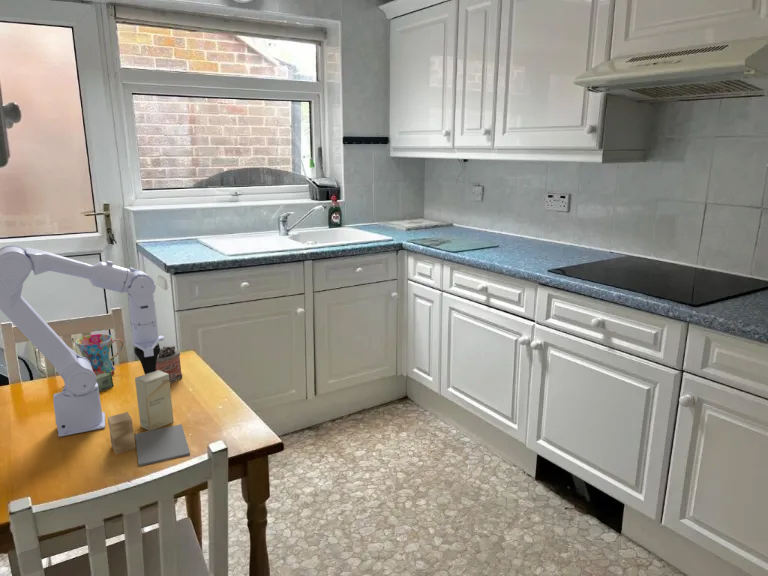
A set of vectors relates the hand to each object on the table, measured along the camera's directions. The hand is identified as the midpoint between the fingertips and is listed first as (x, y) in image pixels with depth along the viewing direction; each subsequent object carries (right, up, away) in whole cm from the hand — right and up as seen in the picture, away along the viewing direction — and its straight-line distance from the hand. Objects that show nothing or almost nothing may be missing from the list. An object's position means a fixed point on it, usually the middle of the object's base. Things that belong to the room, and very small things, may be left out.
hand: (150, 374), depth 139 cm
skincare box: (+4, -11, -6) cm, 13 cm away
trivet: (+8, -13, -15) cm, 21 cm away
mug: (-23, -3, +24) cm, 33 cm away
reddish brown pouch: (-2, -5, +18) cm, 19 cm away
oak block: (+1, -13, -16) cm, 21 cm away
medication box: (-20, -7, +11) cm, 24 cm away
